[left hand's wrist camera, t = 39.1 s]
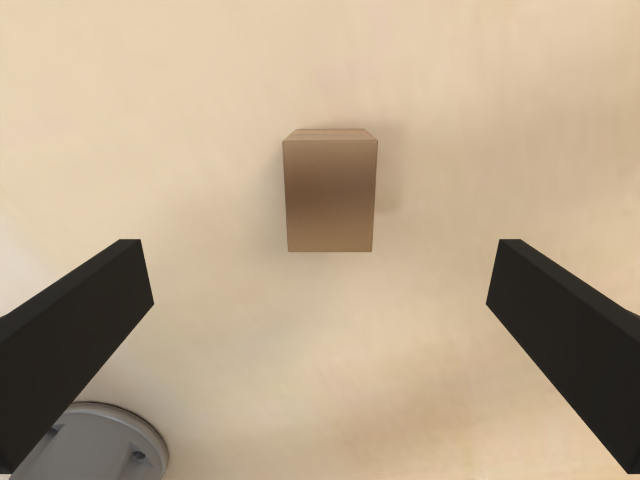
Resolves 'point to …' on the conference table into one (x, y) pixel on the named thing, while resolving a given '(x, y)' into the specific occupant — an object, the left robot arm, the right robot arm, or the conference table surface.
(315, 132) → the block
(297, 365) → the conference table surface
